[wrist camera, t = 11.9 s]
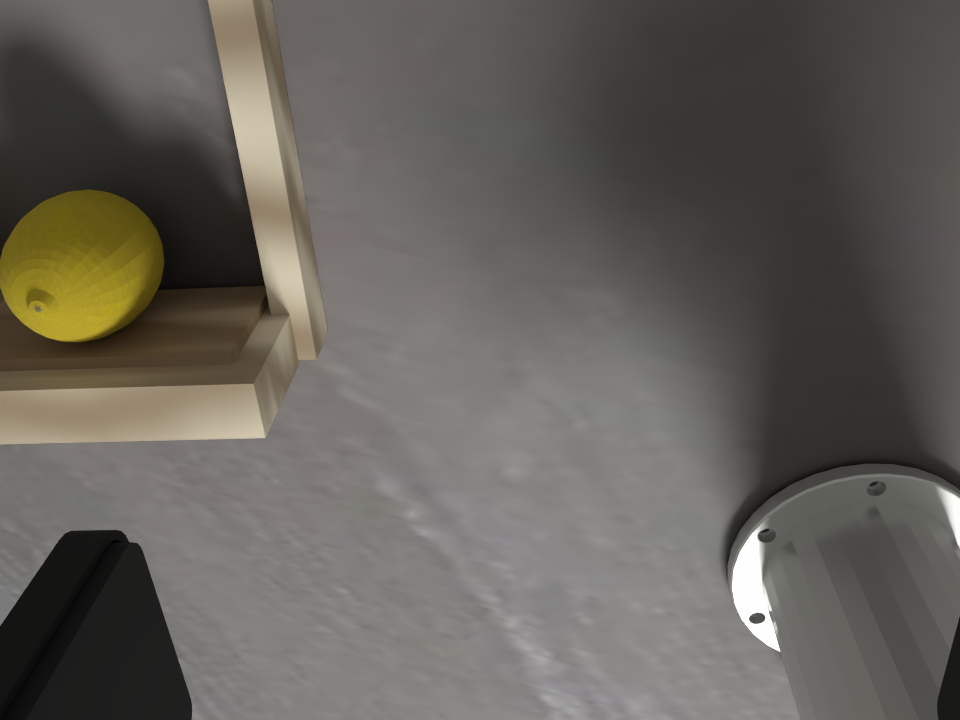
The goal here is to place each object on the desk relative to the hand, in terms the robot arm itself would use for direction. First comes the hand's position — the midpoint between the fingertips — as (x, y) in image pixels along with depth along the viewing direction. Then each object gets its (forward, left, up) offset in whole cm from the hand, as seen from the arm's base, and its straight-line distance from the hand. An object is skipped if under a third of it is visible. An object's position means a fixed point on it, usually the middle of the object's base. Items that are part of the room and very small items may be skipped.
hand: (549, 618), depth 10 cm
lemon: (-5, +18, -28) cm, 34 cm away
